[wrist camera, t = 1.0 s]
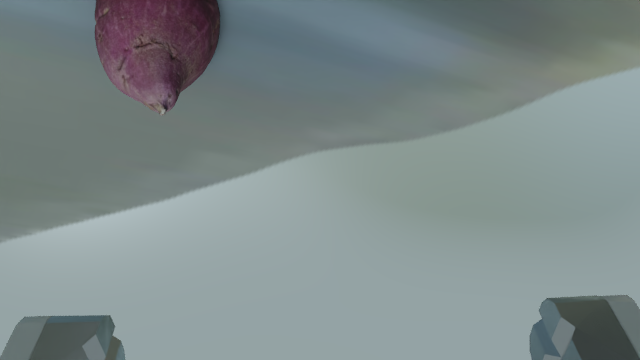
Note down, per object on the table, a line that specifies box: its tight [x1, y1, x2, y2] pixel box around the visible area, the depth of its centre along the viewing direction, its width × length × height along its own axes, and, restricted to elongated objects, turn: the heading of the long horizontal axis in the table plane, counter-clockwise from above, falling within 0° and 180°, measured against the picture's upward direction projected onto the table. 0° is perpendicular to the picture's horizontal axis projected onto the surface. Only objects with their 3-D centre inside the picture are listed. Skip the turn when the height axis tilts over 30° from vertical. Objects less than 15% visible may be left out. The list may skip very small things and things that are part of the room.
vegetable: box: [95, 0, 220, 115], centre depth 42 cm, size 10×10×15 cm
